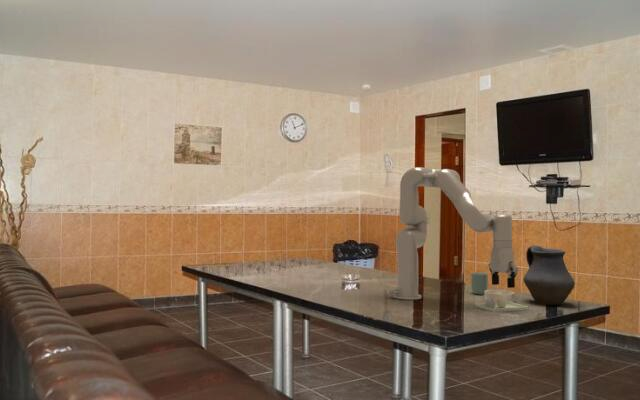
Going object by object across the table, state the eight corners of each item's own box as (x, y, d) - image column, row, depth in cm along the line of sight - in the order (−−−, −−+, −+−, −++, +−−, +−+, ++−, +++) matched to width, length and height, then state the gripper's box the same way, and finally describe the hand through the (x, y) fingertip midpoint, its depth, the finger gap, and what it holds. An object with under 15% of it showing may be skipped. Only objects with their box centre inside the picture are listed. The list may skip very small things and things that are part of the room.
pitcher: (551, 309, 221) (552, 249, 221) (510, 301, 240) (511, 245, 240) (584, 305, 230) (584, 247, 230) (542, 297, 249) (543, 244, 250)
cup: (488, 295, 253) (488, 274, 253) (471, 295, 255) (471, 274, 255) (486, 293, 261) (487, 272, 261) (470, 292, 262) (470, 272, 262)
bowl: (496, 305, 228) (496, 295, 228) (478, 300, 240) (478, 290, 240) (520, 304, 232) (520, 293, 232) (501, 299, 244) (501, 289, 244)
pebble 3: (500, 309, 218) (500, 299, 218) (494, 307, 222) (494, 297, 222) (508, 308, 220) (508, 298, 220) (502, 306, 223) (502, 297, 223)
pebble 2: (498, 301, 235) (499, 292, 235) (492, 299, 239) (493, 290, 239) (506, 301, 236) (506, 292, 236) (500, 299, 240) (500, 290, 240)
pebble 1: (489, 309, 216) (489, 299, 217) (483, 307, 220) (483, 298, 220) (497, 309, 218) (497, 299, 218) (491, 307, 222) (491, 297, 222)
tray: (493, 313, 212) (493, 309, 212) (474, 307, 224) (474, 303, 224) (529, 310, 218) (529, 306, 218) (508, 305, 230) (508, 301, 230)
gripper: (481, 243, 228) (482, 284, 228) (509, 246, 212) (509, 289, 211) (496, 243, 230) (497, 283, 230) (524, 245, 214) (525, 288, 214)
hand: (503, 286), depth 221 cm, fingers open, 9 cm apart
